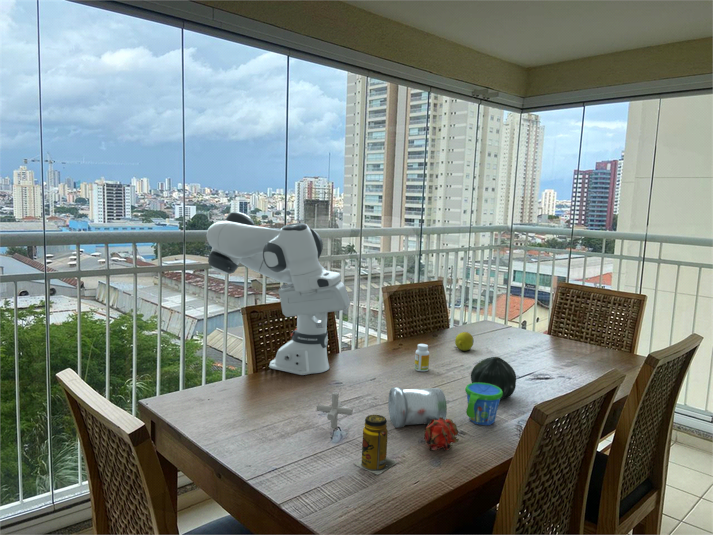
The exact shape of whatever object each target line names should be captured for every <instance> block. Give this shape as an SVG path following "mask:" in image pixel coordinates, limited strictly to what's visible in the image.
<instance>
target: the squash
mask: <svg viewBox="0 0 713 535" xmlns="http://www.w3.org/2000/svg"><path fill="white" fill-rule="evenodd" d="M470 381H471V383H488V384H492V385H495V386H497V387H499V388H500V389H501V390H502V392H503V395H502V397H501V398H500V401H501V400H502V399H508V398H510V397H511V396H512V395H513V393H514V392H515V390H516V388H517V387H516V384H517V383H516V382H517V375H516V372H515V370H514V368H513V367H512V365H511V364H509V363H508V361H506V360H504V359H503V358H501V357H498V356H491V357H487V358H484V359H483V360H480V362H477V364H475V365H474V367H473V368H472V369H471V373H470Z"/></svg>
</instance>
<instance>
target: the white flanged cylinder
mask: <svg viewBox="0 0 713 535" xmlns="http://www.w3.org/2000/svg"><path fill="white" fill-rule="evenodd" d="M387 400H388V402H387V403H388V404H387V406H388V415H389V420H390V422H391V423H392V425H393V427H394V428H397V429H399V428H404V426H409V425H410V426H411V425H412V426H414V425H428V424H429V423H430V421H431V420H433V419H434V420H439V417H442V418H443V419H444V420H446V419H447V410H448V408H447V399H446V395H445V393H444V391H443V389H441V388H440V387H433V388H432V387H430V388H405V389H404V388H403V389H402V387H391V388H390V390H389V393H388V399H387Z"/></svg>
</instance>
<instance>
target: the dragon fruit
mask: <svg viewBox="0 0 713 535" xmlns="http://www.w3.org/2000/svg"><path fill="white" fill-rule="evenodd" d="M423 434H424V435H423V439H424V440H425V442H426V445H427V446H429V448H428V450H429V451H438V452H439V451H440V450H441V448H443V449H444V451H449V450H450V449H451V448H452V447H453V444H457V443H458V442H459V441H460V440H459V438H458V437H457V435H458V434H459V430H458V427H457V425H456V423H455V422H454V421H453V419H451V418H445V420H444V419H443V418H442V417H439V420H434V419H433V420H431V421H430V423H429V424H426V426H425V428H424V433H423Z"/></svg>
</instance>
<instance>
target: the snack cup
mask: <svg viewBox="0 0 713 535" xmlns="http://www.w3.org/2000/svg"><path fill="white" fill-rule="evenodd" d="M465 393H466V397H467V408H466V411H465V412H466V416H467V417H468V420H470V421H471V422H472V423H474V424H475V425H480V426H490V425H493V423H494V422H495V421H496V418H497V413H498V409H499V406H500V401H501V400H500V398H501V397H502V395H503V392H502V390H501V389H500V388H499V387H497V386H495V385H492V384H488V383H472V382H471V383H468V384H467V385H466V386H465Z"/></svg>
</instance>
